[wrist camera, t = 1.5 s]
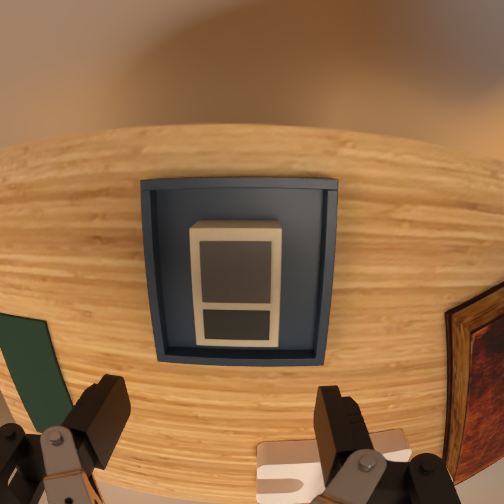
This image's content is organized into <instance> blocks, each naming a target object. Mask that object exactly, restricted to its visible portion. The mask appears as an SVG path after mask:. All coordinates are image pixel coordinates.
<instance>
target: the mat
mask: <svg viewBox="0 0 504 504" xmlns="http://www.w3.org/2000/svg"><path fill="white" fill-rule="evenodd" d="M0 348H1V351H2V354H3V356H4V359H5V362H6V364H7V367H8V370H9V372H10V375H11V377H12V380H13V382H14V384H15V387H16V389H17V391H18V394H19V396H20V398H21V400H22V402H23V404H24V407H25V409H26V411H27V413H28V415H29V417H30V419H31V421H32V423H33V425H34V427H35V429H36V430H37V432H40V433H43V432H44V431H45V430H46V429H48V428H50V427H53V426H61V424H62V423H63V421H64V420H65V418H66V417H67V415H68V414H69V412H70V411H71V410H72V408H73V407H74V406H73V404H72V401H71V399H70V396H69V393H68V391H67V388H66V385H65V382H64V379H63V377H62V374H61V371H60V368H59V365H58V362H57V358H56V355H55V352H54V349H53V345H52V342H51V338H50V335H49V331H48V327H47V323H46V321H42V320H36V319H30V318H24V317H18V316H12V315H7V314H1V313H0Z"/></svg>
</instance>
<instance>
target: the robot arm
mask: <svg viewBox="0 0 504 504" xmlns="http://www.w3.org/2000/svg"><path fill="white" fill-rule="evenodd" d="M130 412H131V404H130V400H129V396H128V393H127V389H126V385H125V381H124V378H123V377H121V376H115V375H109V374H105V375H104V376H103V377H102V379H101V380H100V382H99V383H98V384H95V383H94V384H93V385H91V386H90V387H88V388H87V389H85V391H84V392H83V394H82V395H81V397H80V399H78V401H77V402H76V405H74V407H73V408H72V410H71V411H70V412H69V414H68V415H67V417H66V418H65V420H64V421H63V423H62V424H61V426H53V427H50V428H48V429H46V430H45V431H44V432H43V433H42V435H36V434H25V432H24V430H23V428H22V427H21V426H20V425H18V424H15V423H8V424H5V425H3V426H1V427H0V504H38V502H39V500H40V498H41V496H42V494H43V492H44V489H45V491H46V495H47V500H48V503H49V504H105V502H104V500H103V498H102V495H101V493H100V490H99V488H98V485H97V483H96V480H95V478H94V475H93V473H92V472H93V470H94V468H99V469H102V470H105V468H106V465H107V463H108V461H109V459H110V457H111V455H112V452H113V450H114V448H115V446H116V444H117V442H118V439H119V437H120V435H121V433H122V431H123V429H124V427H125V425H126V423H127V420H128V418H129V416H130ZM314 430H315V435H316V441H317V446H318V452H319V457H320V463H321V468H322V474H323V480H324V486H325V488H326V489H325V490H324V492H323V493H322V494H321V495H320V494H318V495H317V496H316V497H315V498H314V499H313V500H312V501H311V503H310V504H461V502H460V499H459V497H458V494H457V492H456V489H455V487H454V485H453V482H452V480H451V477H450V475H449V473H448V470H447V468H446V466H445V463H444V462H443V460H442V459H441V458H440V457H438V456H437V455H434V454H430V453H423V454H419V455H417V456H415V457H414V458H413V459H412V460H411V462H396V461H390V460H387V459H385V457H384V456H383V455H382V454H381V453H379V452H378V451H375V449H374V447H373V444H372V441H371V438H370V436H369V433H368V430H367V427H366V425H365V422H364V419H363V417H362V415H361V411H360V408H359V406H358V404H357V403H356V402H355V401H354V400H353V399H352V398H351V397H341V394H340V391H339V388H338V386H337V385H335V386H319V387H318V391H317V397H316V404H315V410H314ZM15 467H16V469H17V472H16V473H15V475H14V477H13V478H12V480H11V482H10V484H9V486H8V480H9V478H10V476H11V474H12V473H13V471H14V469H15Z"/></svg>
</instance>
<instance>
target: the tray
mask: <svg viewBox="0 0 504 504" xmlns="http://www.w3.org/2000/svg"><path fill="white" fill-rule="evenodd" d="M140 185H141V211H142V229H143V243H144V256H145V267H146V277H147V287H148V296H149V304H150V312H151V320H152V327H153V334H154V341H155V347H156V353H157V359H158V361H159V362H170V363H183V364H199V365H219V366H263V367H276V366H319V365H324V357H325V350H326V342H327V334H328V325H329V316H330V306H331V296H332V285H333V273H334V260H335V245H336V228H337V206H338V179H332V178H309V177H256V176H239V177H187V178H162V179H146V180H141V181H140ZM199 220H279V222H280V225H281V228H282V259H281V291H280V318H279V341H278V347H237V346H207V345H197V343H196V332H195V319H194V306H193V291H192V275H191V256H190V233H189V229H190V227H192V226H193V225H194V224H195V223H196V222H197V221H199Z"/></svg>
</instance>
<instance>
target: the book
mask: <svg viewBox="0 0 504 504" xmlns="http://www.w3.org/2000/svg"><path fill="white" fill-rule="evenodd" d="M445 322H446V338H447V411H446V427H445V439H444V449H443V457H442V460H443V462H444V463H445V466H447V468H448V470H449V472H450V474H451V476H452V478H453V485H454V486H455V485H457V484H459V483H461V482H463V481H465V480H467V479H468V478H470V477H472V476H474V475H475V474H477V473H479V472H480V471H482V470H484V469H485V468H487V467H489V466H490V465H492V464H493V463H495V462H497V461H498V460H500V459H501V458H503V457H504V282H502V283H500V284H499V285H497V286H495V287H493V288H491V289H490V290H488V291H486V292H484V293H482V294H480V295H478V296H477V297H475V298H473V299H471V300H469V301H467V302H465V303H463V304H461V305H459V306H457V307H455V308H453V309H451V310H449V311H447V312H445Z"/></svg>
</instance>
